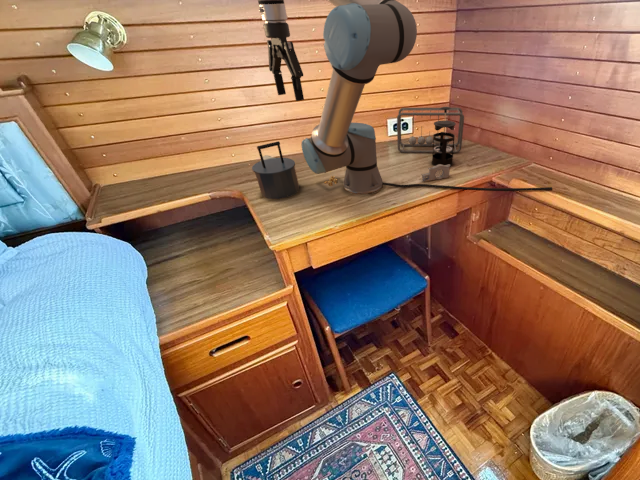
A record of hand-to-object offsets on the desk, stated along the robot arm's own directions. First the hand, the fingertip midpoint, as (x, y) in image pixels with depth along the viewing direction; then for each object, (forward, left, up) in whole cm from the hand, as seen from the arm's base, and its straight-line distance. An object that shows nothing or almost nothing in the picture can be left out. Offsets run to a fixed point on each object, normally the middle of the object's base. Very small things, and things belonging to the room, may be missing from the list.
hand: (290, 97), depth 115 cm
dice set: (-11, +3, -31) cm, 33 cm away
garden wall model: (-52, -3, -31) cm, 61 cm away
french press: (-55, -21, -31) cm, 66 cm away
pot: (+7, +11, -31) cm, 33 cm away
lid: (+7, +11, -21) cm, 25 cm away
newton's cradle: (-49, -38, -31) cm, 69 cm away
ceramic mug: (+15, -6, -31) cm, 35 cm away
